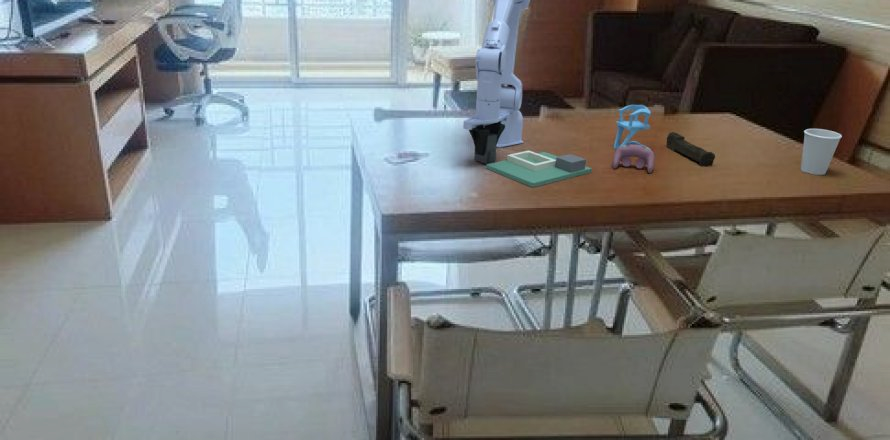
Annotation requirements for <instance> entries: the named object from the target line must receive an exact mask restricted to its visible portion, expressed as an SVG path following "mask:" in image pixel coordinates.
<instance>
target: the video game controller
mask: <svg viewBox="0 0 890 440" xmlns="http://www.w3.org/2000/svg"><path fill="white" fill-rule="evenodd" d="M644 146H645V145H644ZM644 146H641V145H633V144H630V145H622V146H620V147H619V148H618V149H616V150H615V152H614V154H613V158H612V168H613V169H614V170H616V169H617V168H618V166H619V165H620V162H621V163H622V166H623V167H624V168H629V167H631V166H632V159H631V157H632V158H634V157H635V158H637V160H635V163H634V166H635V168H636V169H638V170H641V169H643V168H644V167H645V166H647V168H646V170H647V174H649V175H650V174H651V173H652V172H653V170H654V167H655V166H654V165H655V153H654V152H653V150H652V149H651V148H650V147H648V148H646V147H647V146H646V147H644ZM649 148H650V149H649Z"/></svg>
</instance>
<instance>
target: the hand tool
mask: <svg viewBox="0 0 890 440" xmlns="http://www.w3.org/2000/svg"><path fill="white" fill-rule="evenodd" d="M666 147H668V149H670V150H673V152H675V151H676V153H677V152H678V153H680V154H682V155H684V156H686V157H688V158H690V159H691V160H693V161H694V162H696V163H698V164H699V166H700V167H710V166H712V165H713V164H714V161H715V159H716V154H715V153H713V152H712V151H707V150H705V149H704V148H702V147H699V146H697V145H695V144H692V143H691V142H689V141H687V140H685V136H683V135H681V134H679V133H676V132H674V131H671V132H670V133H668V135H667V137H666Z"/></svg>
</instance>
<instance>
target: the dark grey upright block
mask: <svg viewBox="0 0 890 440" xmlns="http://www.w3.org/2000/svg"><path fill="white" fill-rule="evenodd" d="M496 142H497V135H496V134H493V133H491V132H489V134H488V137H487V140H486V146H485V152H484V155H483V156H481V155H478V154H476V151H475V150H474V154H473V155H474V159H473V160H474V161H478V162H479V163H482V164H491V163H495V162H496V160H497V159H496V158H497V147H496Z"/></svg>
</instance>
